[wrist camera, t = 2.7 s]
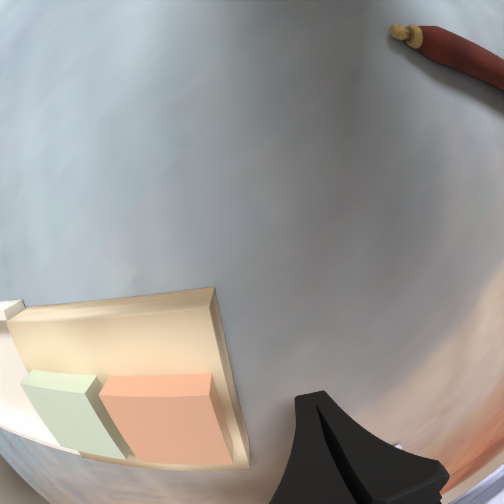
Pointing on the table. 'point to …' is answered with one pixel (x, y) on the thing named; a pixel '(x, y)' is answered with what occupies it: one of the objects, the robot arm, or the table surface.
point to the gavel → (453, 52)
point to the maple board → (136, 350)
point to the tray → (18, 387)
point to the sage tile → (75, 412)
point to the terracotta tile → (170, 418)
